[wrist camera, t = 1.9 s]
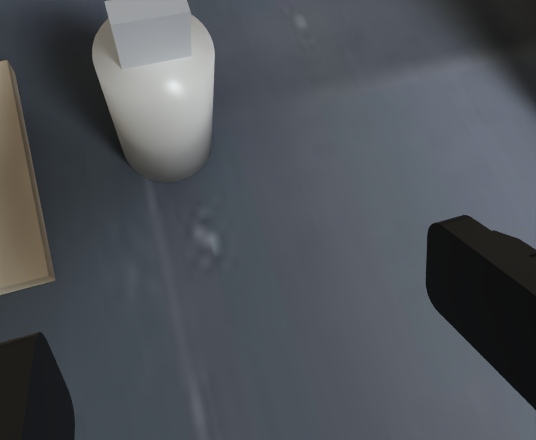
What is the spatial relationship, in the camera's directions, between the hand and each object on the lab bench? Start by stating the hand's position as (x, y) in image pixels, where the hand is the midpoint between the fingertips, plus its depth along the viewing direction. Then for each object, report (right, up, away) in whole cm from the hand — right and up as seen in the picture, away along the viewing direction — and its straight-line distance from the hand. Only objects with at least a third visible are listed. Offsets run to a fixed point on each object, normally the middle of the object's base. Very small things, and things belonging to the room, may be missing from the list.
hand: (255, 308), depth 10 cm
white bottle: (-5, +6, +18) cm, 19 cm away
